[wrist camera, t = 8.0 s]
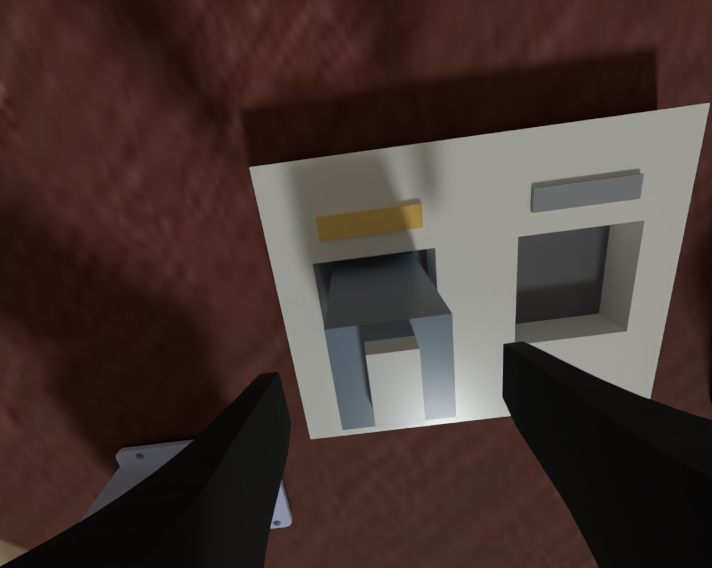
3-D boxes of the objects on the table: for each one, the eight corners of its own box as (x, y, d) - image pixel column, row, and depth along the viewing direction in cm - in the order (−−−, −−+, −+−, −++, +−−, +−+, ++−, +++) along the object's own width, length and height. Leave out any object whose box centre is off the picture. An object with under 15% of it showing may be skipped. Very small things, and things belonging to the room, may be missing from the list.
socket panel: (314, 408, 21) (310, 442, 19) (262, 165, 16) (247, 167, 14) (616, 372, 21) (653, 401, 18) (658, 110, 16) (715, 102, 13)
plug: (344, 333, 19) (341, 448, 12) (333, 263, 17) (322, 342, 10) (418, 324, 19) (463, 434, 11) (413, 253, 17) (460, 325, 10)
